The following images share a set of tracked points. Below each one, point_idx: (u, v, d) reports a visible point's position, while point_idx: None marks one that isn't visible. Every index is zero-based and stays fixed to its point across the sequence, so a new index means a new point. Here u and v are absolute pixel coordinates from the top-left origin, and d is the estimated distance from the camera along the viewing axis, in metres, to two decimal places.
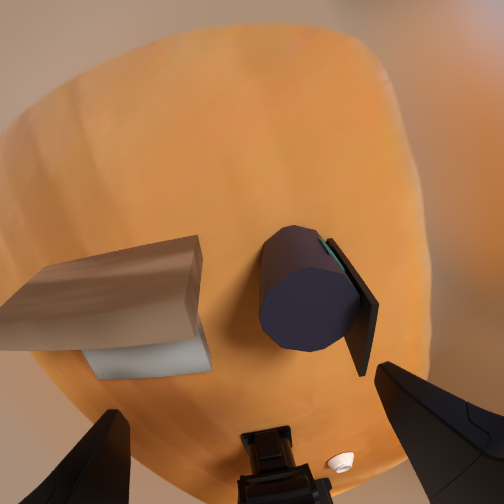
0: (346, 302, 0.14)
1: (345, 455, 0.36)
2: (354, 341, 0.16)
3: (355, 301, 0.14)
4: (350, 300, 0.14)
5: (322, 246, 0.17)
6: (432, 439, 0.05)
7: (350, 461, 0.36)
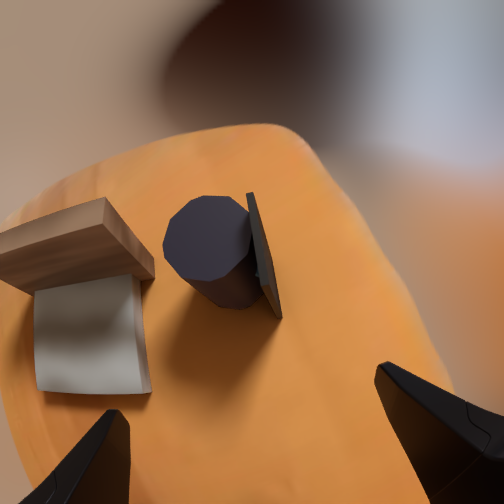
0: (237, 220, 0.16)
1: None
2: None
3: (246, 218, 0.16)
4: (240, 218, 0.16)
5: None
6: (432, 439, 0.05)
7: None
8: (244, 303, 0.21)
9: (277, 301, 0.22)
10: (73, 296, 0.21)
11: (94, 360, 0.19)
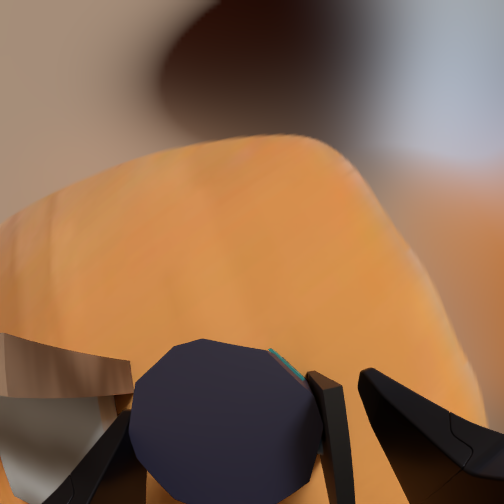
0: (286, 413, 0.06)
1: None
2: (332, 499, 0.05)
3: (307, 410, 0.06)
4: (294, 408, 0.06)
5: None
6: (413, 449, 0.05)
7: None
8: None
9: None
10: (28, 406, 0.11)
11: None
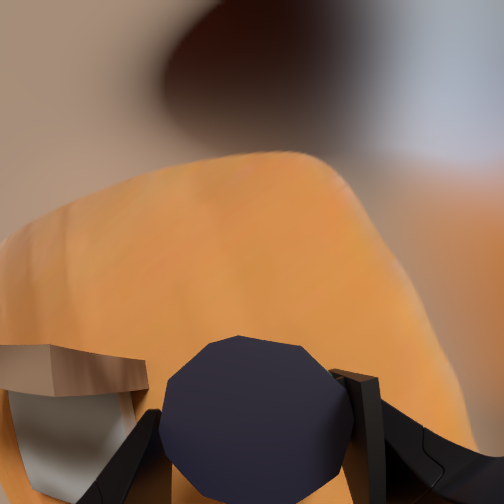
0: (320, 407, 0.06)
1: None
2: (358, 492, 0.05)
3: (339, 404, 0.06)
4: (328, 402, 0.06)
5: None
6: None
7: None
8: None
9: None
10: (50, 403, 0.13)
11: (89, 480, 0.11)
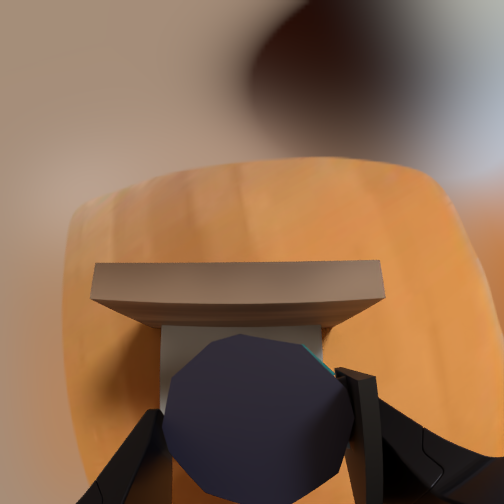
0: (319, 405, 0.06)
1: None
2: (358, 491, 0.05)
3: (339, 402, 0.06)
4: (328, 401, 0.06)
5: None
6: (383, 464, 0.05)
7: None
8: None
9: None
10: None
11: None
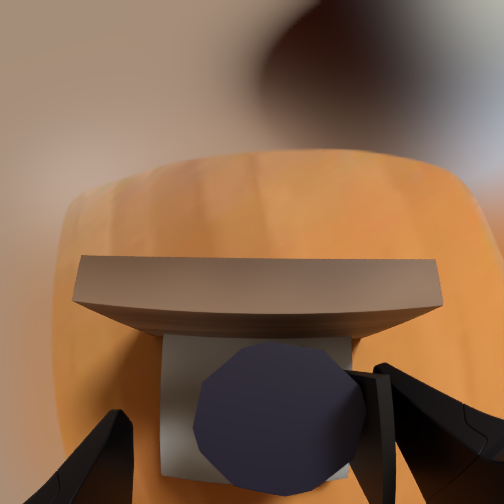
0: (338, 401, 0.07)
1: None
2: (369, 475, 0.06)
3: (354, 398, 0.07)
4: (344, 397, 0.07)
5: None
6: (428, 441, 0.05)
7: None
8: None
9: None
10: None
11: None
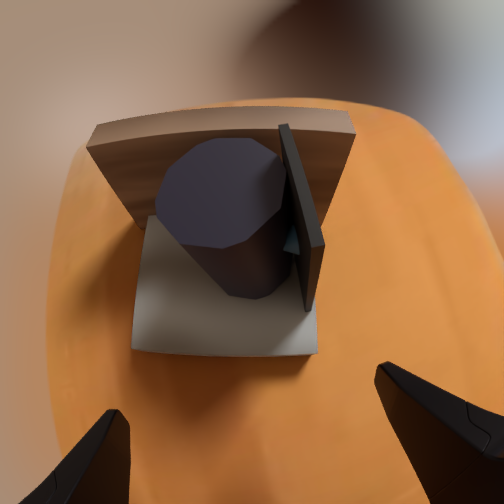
0: (262, 165, 0.11)
1: None
2: (301, 232, 0.10)
3: (275, 163, 0.11)
4: (267, 162, 0.11)
5: None
6: (432, 439, 0.05)
7: None
8: (264, 291, 0.16)
9: None
10: None
11: (249, 310, 0.17)
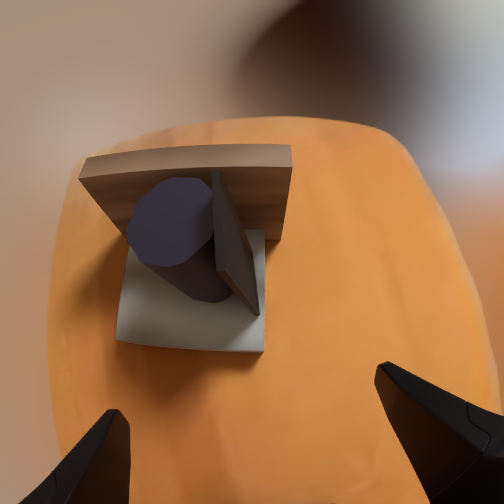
0: (203, 202, 0.15)
1: None
2: None
3: (213, 200, 0.15)
4: (207, 200, 0.15)
5: None
6: (432, 439, 0.05)
7: None
8: (218, 297, 0.19)
9: (254, 296, 0.20)
10: None
11: (208, 311, 0.21)
